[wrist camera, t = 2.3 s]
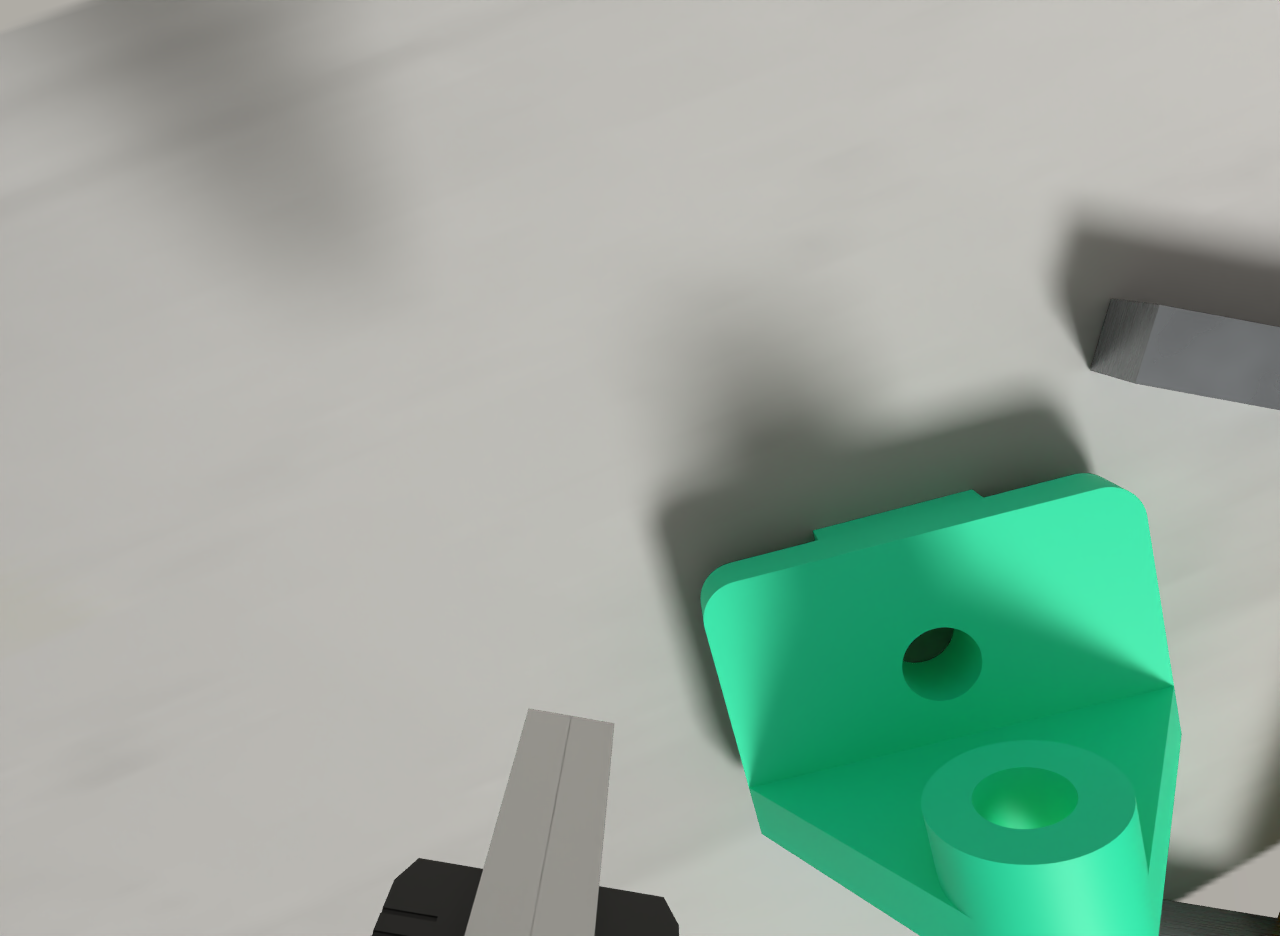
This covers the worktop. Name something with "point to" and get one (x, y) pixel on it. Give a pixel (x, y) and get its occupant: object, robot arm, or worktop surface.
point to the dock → (1213, 367)
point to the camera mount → (964, 709)
